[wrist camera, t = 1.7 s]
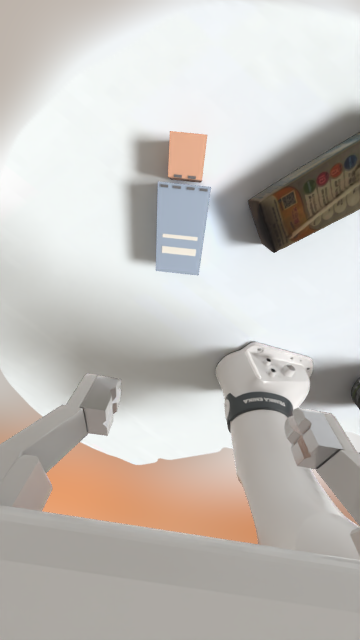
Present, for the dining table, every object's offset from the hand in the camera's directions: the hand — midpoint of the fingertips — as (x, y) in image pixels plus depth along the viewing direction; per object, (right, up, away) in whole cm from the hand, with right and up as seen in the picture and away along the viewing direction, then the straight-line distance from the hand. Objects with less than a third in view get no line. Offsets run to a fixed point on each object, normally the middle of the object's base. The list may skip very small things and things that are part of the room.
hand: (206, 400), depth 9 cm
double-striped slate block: (-1, +19, +24) cm, 31 cm away
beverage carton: (+19, +23, +20) cm, 36 cm away
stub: (0, +27, +19) cm, 33 cm away
